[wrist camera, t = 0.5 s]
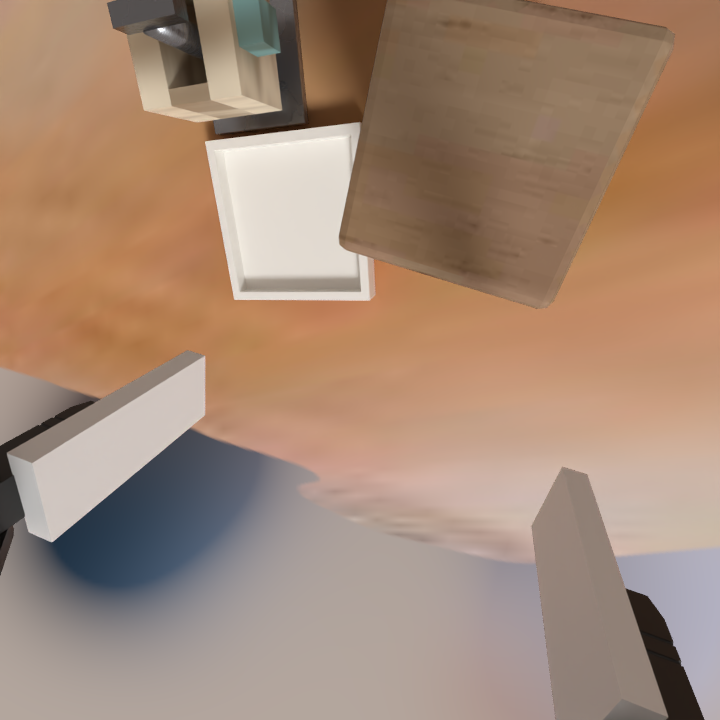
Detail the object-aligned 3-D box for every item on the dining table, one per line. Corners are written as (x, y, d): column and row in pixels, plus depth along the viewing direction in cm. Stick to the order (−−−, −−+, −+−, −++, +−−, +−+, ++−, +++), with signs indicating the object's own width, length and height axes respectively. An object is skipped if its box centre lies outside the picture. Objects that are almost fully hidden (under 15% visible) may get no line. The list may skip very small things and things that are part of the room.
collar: (174, 4, 31) (111, -34, 26) (289, -24, 29) (244, -72, 23) (197, 122, 34) (144, 110, 29) (303, 107, 32) (265, 91, 26)
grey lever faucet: (200, 16, 35) (47, -75, 23) (295, -6, 32) (180, -121, 20) (220, 135, 38) (96, 110, 26) (308, 123, 36) (216, 91, 24)
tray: (219, 143, 39) (205, 141, 37) (366, 125, 34) (359, 122, 32) (245, 294, 44) (234, 299, 42) (375, 294, 40) (369, 300, 38)
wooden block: (518, 250, 35) (550, 315, 17) (407, 218, 36) (332, 248, 19) (571, 119, 30) (688, 24, 13) (443, 89, 32) (389, -32, 14)
